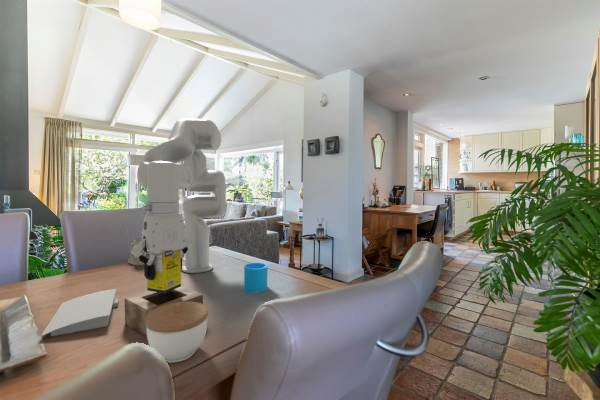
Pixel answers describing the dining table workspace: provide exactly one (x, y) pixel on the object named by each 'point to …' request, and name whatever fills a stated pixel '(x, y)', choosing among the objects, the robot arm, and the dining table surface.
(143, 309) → the drop box
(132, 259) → the sand castle
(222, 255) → the dining table surface
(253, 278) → the mug
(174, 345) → the lidded bowl
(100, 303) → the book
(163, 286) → the supplement box
